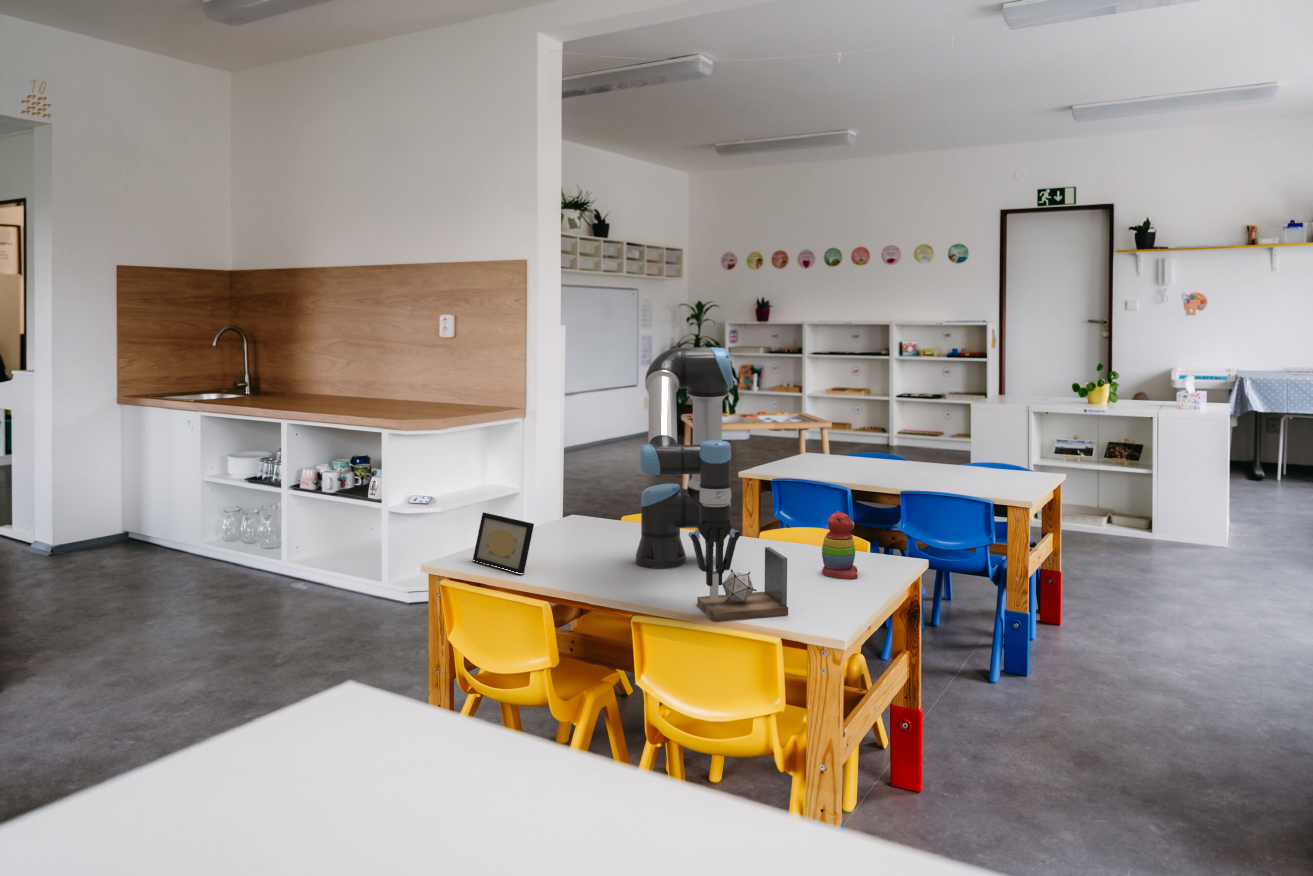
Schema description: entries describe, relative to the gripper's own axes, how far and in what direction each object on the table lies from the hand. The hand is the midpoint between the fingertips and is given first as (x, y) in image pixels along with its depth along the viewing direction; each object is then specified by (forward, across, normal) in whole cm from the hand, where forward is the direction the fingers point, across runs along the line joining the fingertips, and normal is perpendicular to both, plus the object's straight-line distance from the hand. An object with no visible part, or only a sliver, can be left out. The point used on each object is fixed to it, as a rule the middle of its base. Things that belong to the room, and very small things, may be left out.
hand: (714, 598), depth 223 cm
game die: (+2, +6, 0) cm, 6 cm away
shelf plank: (+4, +7, 0) cm, 8 cm away
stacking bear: (+3, +45, +25) cm, 52 cm away
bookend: (+2, +16, 0) cm, 16 cm away
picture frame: (+4, -46, +58) cm, 74 cm away
